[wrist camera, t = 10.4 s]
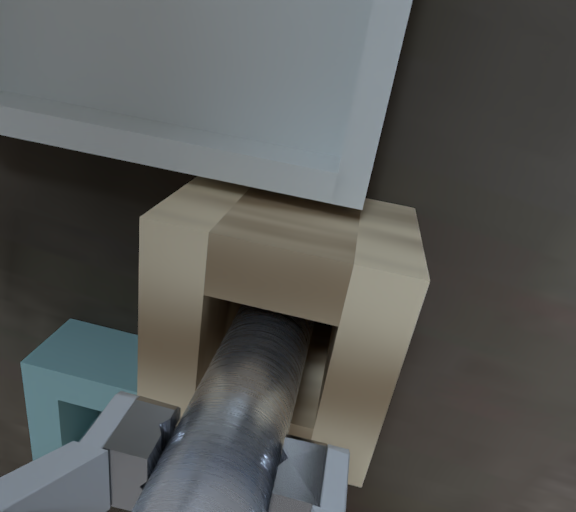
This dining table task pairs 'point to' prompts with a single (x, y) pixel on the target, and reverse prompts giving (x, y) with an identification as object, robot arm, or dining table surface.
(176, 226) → the beech block
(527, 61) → the dining table surface
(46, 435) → the stand
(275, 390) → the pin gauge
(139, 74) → the tray
